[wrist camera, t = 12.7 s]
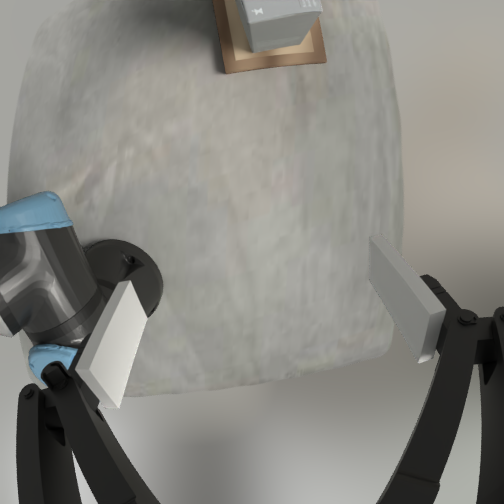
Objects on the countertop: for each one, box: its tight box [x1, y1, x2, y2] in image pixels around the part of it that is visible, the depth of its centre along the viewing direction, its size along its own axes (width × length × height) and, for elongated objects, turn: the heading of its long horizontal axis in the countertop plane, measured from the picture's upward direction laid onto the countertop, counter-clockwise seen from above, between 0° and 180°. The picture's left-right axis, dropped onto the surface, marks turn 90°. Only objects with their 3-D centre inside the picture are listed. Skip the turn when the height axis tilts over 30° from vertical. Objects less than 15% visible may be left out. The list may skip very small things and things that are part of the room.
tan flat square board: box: [212, 0, 327, 74], centre depth 31 cm, size 13×13×2 cm
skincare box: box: [235, 0, 323, 53], centre depth 24 cm, size 8×7×16 cm
